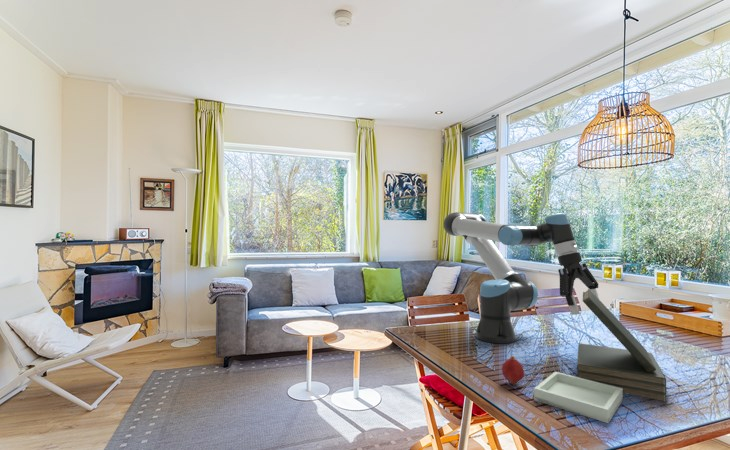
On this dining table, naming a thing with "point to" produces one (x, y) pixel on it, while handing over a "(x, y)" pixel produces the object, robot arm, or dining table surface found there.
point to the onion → (512, 370)
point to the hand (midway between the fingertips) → (586, 310)
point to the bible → (620, 359)
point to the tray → (580, 396)
